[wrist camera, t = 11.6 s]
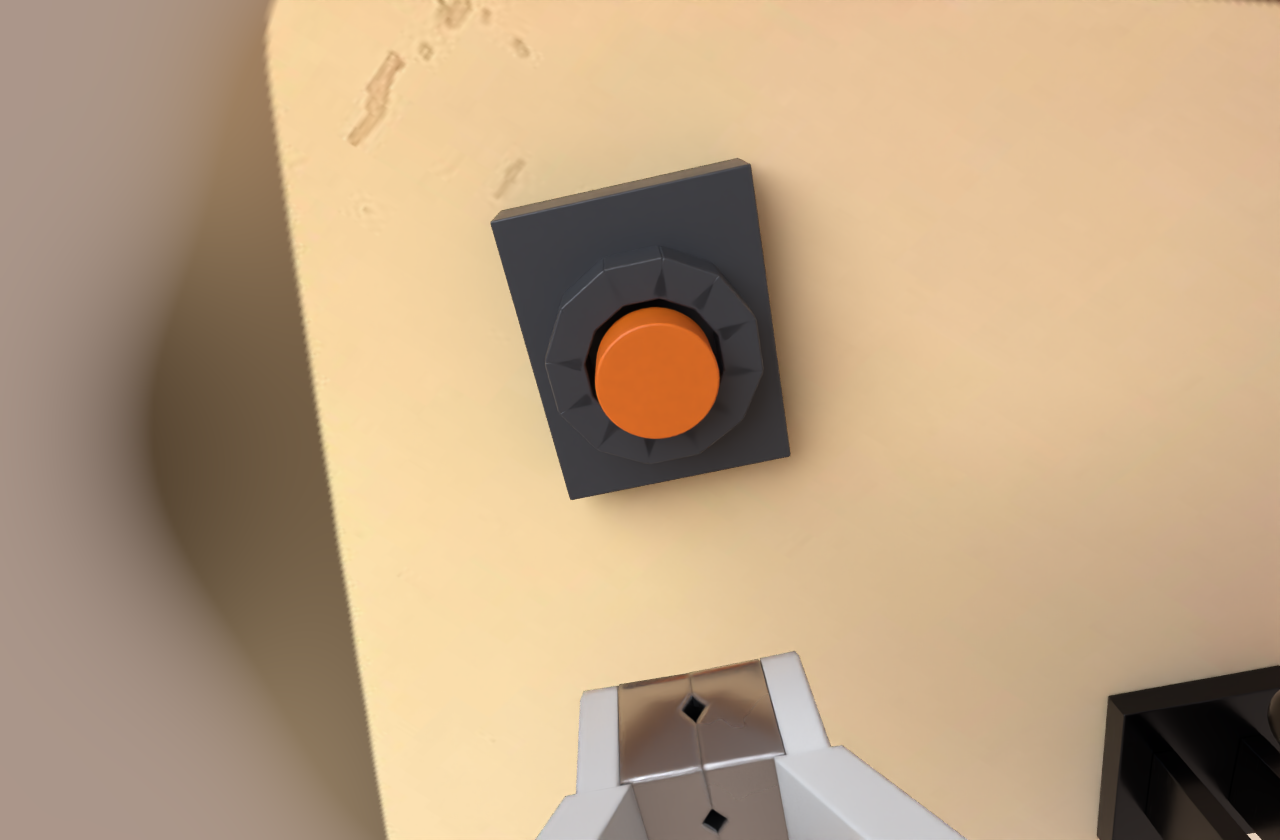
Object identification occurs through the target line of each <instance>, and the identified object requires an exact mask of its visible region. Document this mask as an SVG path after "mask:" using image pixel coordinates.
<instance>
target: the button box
mask: <svg viewBox="0 0 1280 840" xmlns="http://www.w3.org/2000/svg"><path fill="white" fill-rule="evenodd" d="M491 227H492V230H493V234H494V237H495V241H496V244H497V248H498V251H499V255H500V258H501V262H502V265H503V269H504V272H505V275H506V279H507V282H508V286H509V289H510V293H511V296H512V300H513V303H514V307H515V310H516V314H517V317H518V320H519V324H520V327H521V331H522V334H523V338H524V341H525V345H526V348H527V352H528V355H529V359H530V362H531V366H532V369H533V372H534V376H535V379H536V383H537V386H538V390H539V393H540V397H541V400H542V404H543V407H544V411H545V414H546V418H547V421H548V424H549V428H550V431H551V435H552V438H553V442H554V445H555V449H556V452H557V456H558V459H559V463H560V466H561V470H562V473H563V476H564V480H565V483H566V487H567V490H568V494H569V497H570V499H571V500H575V499H580V498H585V497H589V496H594V495H599V494H604V493H609V492H614V491H619V490H624V489H629V488H634V487H639V486H644V485H649V484H654V483H659V482H664V481H669V480H674V479H679V478H684V477H689V476H694V475H699V474H704V473H709V472H714V471H719V470H724V469H729V468H734V467H739V466H744V465H749V464H754V463H759V462H764V461H769V460H774V459H779V458H784V457H789V456H790V448H789V440H788V433H787V426H786V418H785V411H784V404H783V396H782V389H781V382H780V374H779V367H778V360H777V352H776V345H775V338H774V330H773V323H772V316H771V308H770V301H769V294H768V286H767V279H766V272H765V265H764V257H763V250H762V243H761V235H760V228H759V221H758V213H757V206H756V199H755V191H754V184H753V177H752V169H751V165H750V164H749V163H747V162H745V161H743V160H741V159H739V158H736V159H731V160H727V161H722V162H718V163H713V164H709V165H704V166H700V167H695V168H691V169H686V170H682V171H677V172H673V173H668V174H664V175H659V176H655V177H650V178H646V179H642V180H637V181H633V182H628V183H624V184H619V185H615V186H610V187H606V188H601V189H597V190H592V191H588V192H583V193H579V194H574V195H570V196H565V197H561V198H556V199H552V200H547V201H543V202H538V203H534V204H529V205H525V206H520V207H516V208H511V209H507V210H502V211H500V212H499V213H498V215H497V216H496V217H495V218H494V219H493V220H492V221H491ZM649 307H661V308H668V309H672V310H675V311H678V312H681V313H683V314H684V315H686V316H688V317H689V318H691V319H692V320H693V321H695V322H696V323H697V324H698V325H699V326H700V328H701V329H702V330H703V331H704V333H705V335H706V337H707V338H708V341H709V343H710V346H711V348H712V351H713V353H714V356H715V358H716V361H717V364H718V368H719V376H720V382H719V390H718V394H717V397H716V400H715V402H714V404H713V406H712V408H711V409H710V411H709V413H708V414H707V415H706V416H705V417H704V419H703V420H701V421H700V422H699V423H698V424H697V425H696V426H694V427H693V428H691V429H690V430H688V431H686V432H684V433H682V434H679V435H677V436H673V437H669V438H662V439H650V438H643V437H639V436H636V435H633V434H630V433H628V432H626V431H624V430H623V429H621V428H620V427H618V426H617V425H616V424H614V423H613V422H612V421H611V420H610V419H609V418H608V416H607V415H606V414H605V412H604V411H603V409H602V407H601V405H600V403H599V401H598V398H597V394H596V389H595V372H596V358H597V352H598V348H599V345H600V343H601V340H602V338H603V337H604V335H605V333H606V332H607V331H608V329H609V328H610V327H611V326H612V325H613V324H614V323H615V322H616V321H617V320H619V319H620V318H621V317H623V316H625V315H626V314H628V313H631V312H633V311H636V310H639V309H643V308H649Z"/></svg>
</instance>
